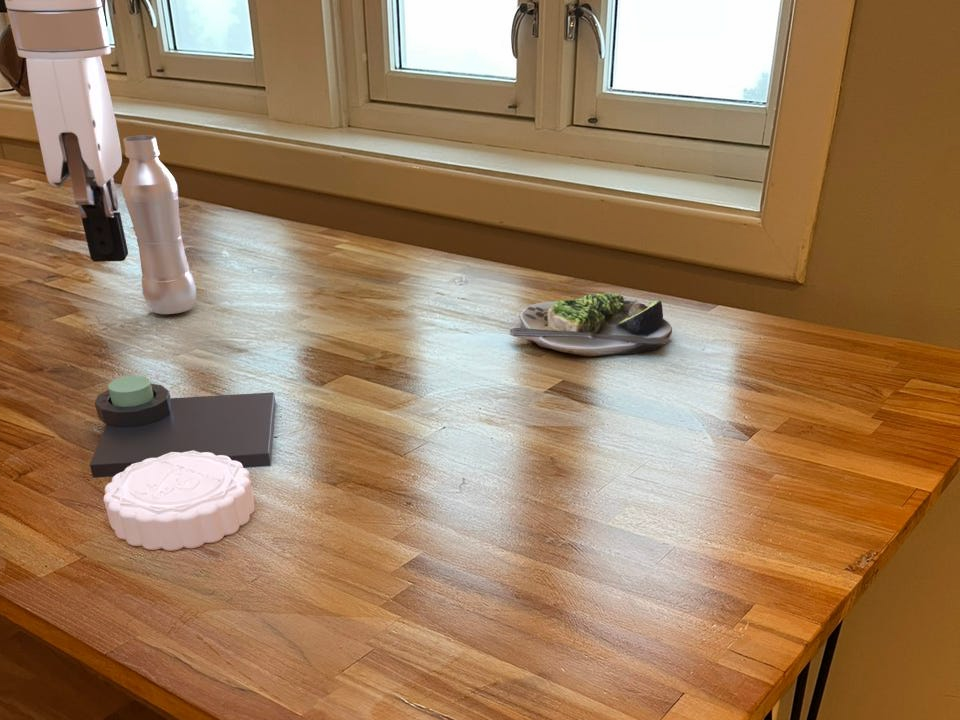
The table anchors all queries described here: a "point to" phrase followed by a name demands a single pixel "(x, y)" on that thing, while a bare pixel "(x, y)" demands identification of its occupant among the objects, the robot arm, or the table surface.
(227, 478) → the mooncake
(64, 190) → the table surface
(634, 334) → the salad plate
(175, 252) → the plastic bottle
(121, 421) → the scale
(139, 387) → the button
